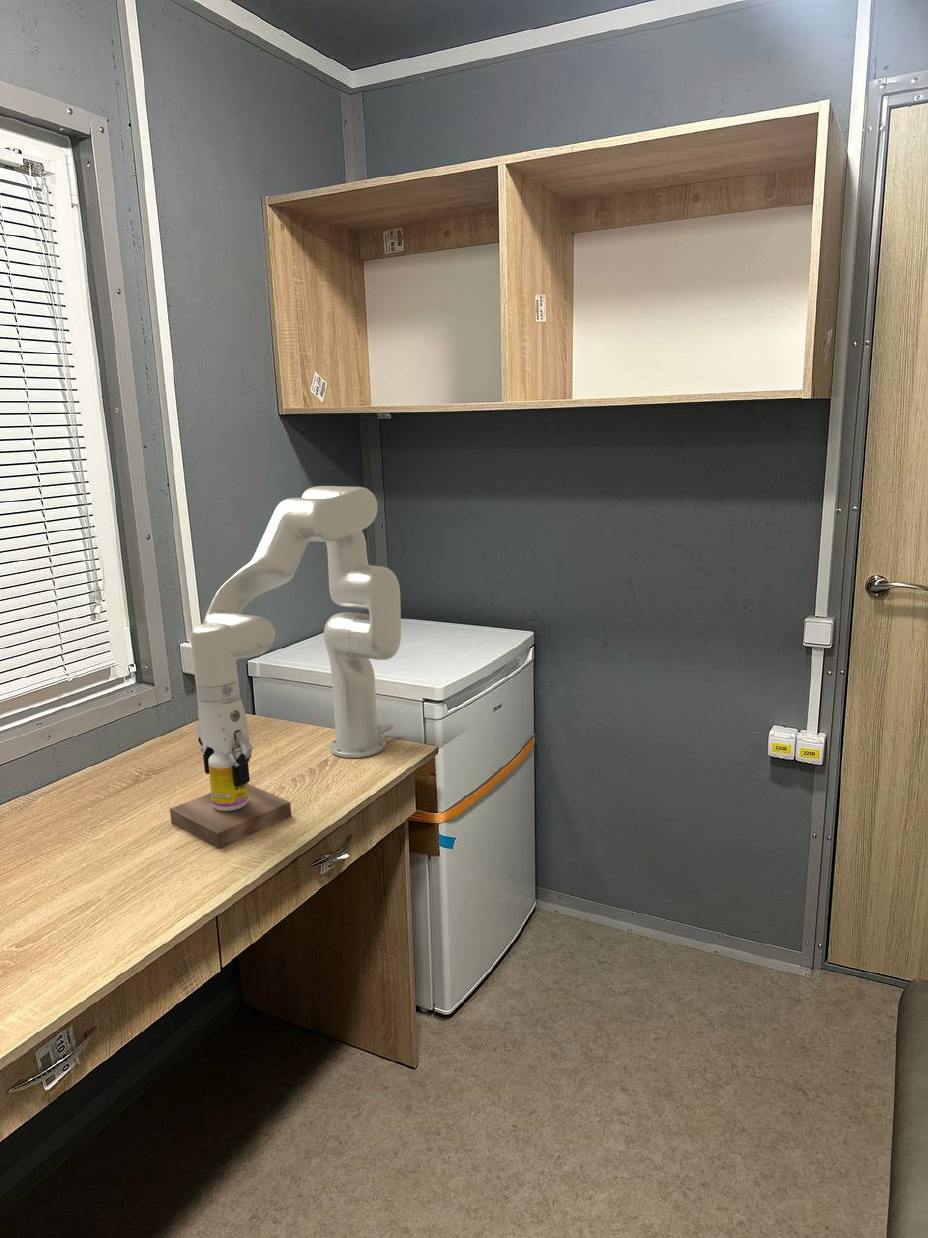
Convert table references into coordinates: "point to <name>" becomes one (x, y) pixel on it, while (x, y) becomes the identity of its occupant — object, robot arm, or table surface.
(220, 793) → the supplement bottle
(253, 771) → the table surface
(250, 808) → the block
